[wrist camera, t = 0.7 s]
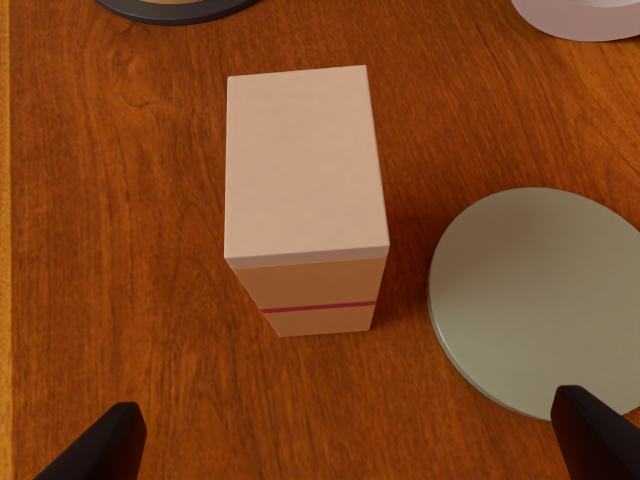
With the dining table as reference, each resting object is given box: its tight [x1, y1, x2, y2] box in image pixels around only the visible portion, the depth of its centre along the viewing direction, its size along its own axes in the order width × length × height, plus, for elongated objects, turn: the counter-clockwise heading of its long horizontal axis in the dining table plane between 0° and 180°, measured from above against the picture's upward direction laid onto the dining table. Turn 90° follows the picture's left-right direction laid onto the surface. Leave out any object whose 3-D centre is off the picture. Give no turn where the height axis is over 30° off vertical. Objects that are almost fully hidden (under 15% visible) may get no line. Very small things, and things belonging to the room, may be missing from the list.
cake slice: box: [224, 65, 390, 337], centre depth 21 cm, size 7×5×13 cm
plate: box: [426, 187, 640, 423], centre depth 25 cm, size 13×13×1 cm
